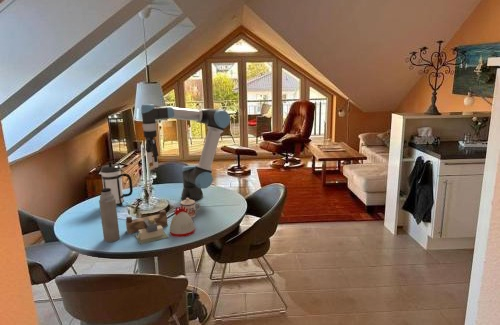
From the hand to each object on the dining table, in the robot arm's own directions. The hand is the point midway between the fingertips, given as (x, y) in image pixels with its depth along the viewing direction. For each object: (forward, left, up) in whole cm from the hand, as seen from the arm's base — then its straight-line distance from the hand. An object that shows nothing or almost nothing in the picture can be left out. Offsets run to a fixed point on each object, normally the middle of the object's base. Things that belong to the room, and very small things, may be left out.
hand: (153, 164), depth 227 cm
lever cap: (+12, +33, -27) cm, 44 cm away
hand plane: (+11, +20, -32) cm, 39 cm away
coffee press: (+19, -33, -32) cm, 50 cm away
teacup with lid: (-17, +15, -32) cm, 39 cm away
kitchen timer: (-5, +35, -32) cm, 48 cm away
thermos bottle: (+31, +24, -32) cm, 50 cm away
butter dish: (+12, +33, -32) cm, 47 cm away
